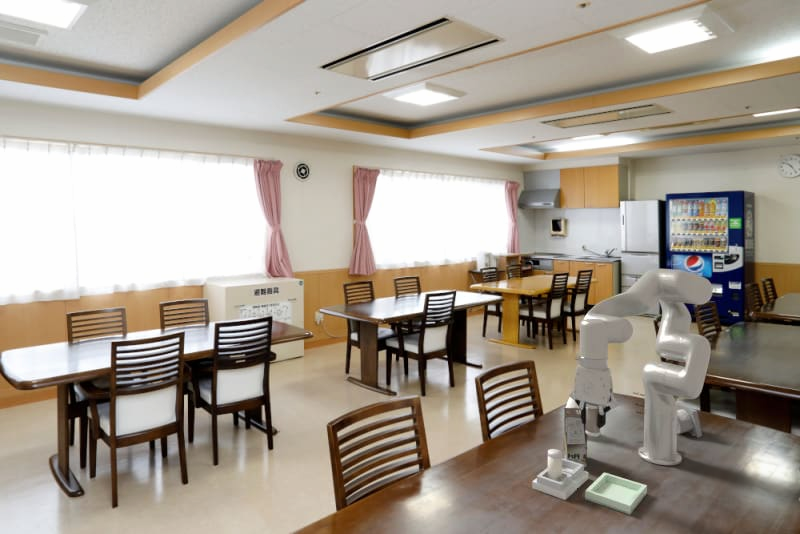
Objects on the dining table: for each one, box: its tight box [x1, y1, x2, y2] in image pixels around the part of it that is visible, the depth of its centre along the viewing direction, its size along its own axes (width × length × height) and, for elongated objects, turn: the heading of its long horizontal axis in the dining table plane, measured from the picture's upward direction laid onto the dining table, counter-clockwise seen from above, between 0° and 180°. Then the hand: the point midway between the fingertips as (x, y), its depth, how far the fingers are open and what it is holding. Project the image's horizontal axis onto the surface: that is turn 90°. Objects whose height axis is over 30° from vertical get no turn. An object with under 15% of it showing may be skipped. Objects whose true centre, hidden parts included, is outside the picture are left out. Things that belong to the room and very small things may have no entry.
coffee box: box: [563, 407, 588, 468], centre depth 165 cm, size 9×6×16 cm
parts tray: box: [584, 472, 648, 516], centre depth 143 cm, size 14×12×2 cm
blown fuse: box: [585, 402, 601, 437], centre depth 147 cm, size 4×4×9 cm
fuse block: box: [531, 448, 589, 501], centre depth 151 cm, size 16×10×11 cm, turn 138°
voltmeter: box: [632, 392, 703, 439], centre depth 192 cm, size 27×11×10 cm, turn 38°
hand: (593, 424), depth 147 cm, fingers closed on blown fuse, 4 cm apart
